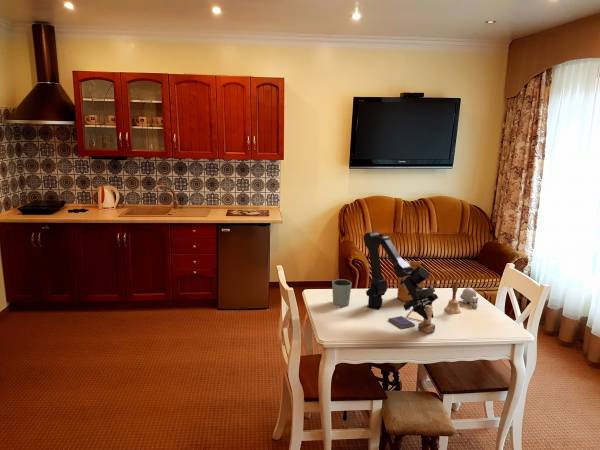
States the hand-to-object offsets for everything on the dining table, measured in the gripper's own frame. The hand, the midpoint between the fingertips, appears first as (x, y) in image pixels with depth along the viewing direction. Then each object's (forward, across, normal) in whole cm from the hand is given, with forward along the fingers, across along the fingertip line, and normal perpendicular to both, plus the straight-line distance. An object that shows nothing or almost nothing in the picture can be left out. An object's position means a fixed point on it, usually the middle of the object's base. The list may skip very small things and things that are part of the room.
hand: (430, 318), depth 204 cm
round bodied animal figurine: (-2, +48, +12) cm, 49 cm away
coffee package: (-18, +24, +28) cm, 41 cm away
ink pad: (-5, -4, +14) cm, 15 cm away
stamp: (+4, 0, +6) cm, 7 cm away
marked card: (-5, +10, +14) cm, 18 cm away
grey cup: (-28, -13, +38) cm, 49 cm away
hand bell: (-2, +32, +12) cm, 34 cm away
